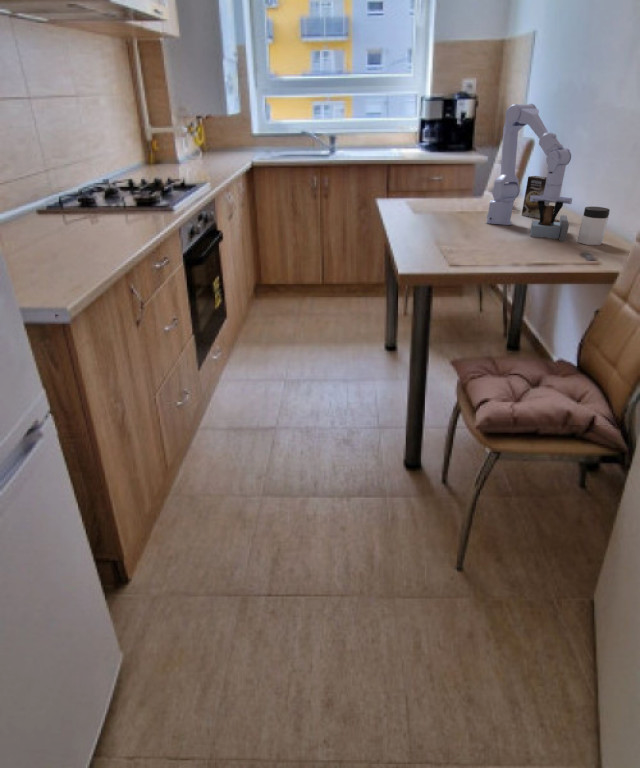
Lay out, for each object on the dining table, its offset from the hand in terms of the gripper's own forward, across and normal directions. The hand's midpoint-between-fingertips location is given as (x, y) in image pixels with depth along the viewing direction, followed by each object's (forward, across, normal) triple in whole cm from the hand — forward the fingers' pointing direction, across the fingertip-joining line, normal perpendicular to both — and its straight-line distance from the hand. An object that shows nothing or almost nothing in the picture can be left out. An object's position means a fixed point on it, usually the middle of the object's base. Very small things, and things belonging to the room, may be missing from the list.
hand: (546, 222), depth 216 cm
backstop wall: (+5, +6, 0) cm, 8 cm away
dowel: (+2, 0, 0) cm, 2 cm away
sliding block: (+5, 0, 0) cm, 5 cm away
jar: (+5, +16, -7) cm, 18 cm away
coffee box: (+5, -4, +36) cm, 36 cm away
